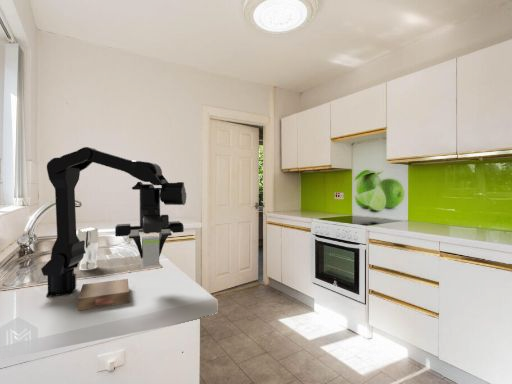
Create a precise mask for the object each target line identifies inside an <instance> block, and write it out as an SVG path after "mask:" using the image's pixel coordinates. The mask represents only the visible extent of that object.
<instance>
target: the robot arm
mask: <svg viewBox="0 0 512 384" xmlns="http://www.w3.org/2000/svg"><path fill="white" fill-rule="evenodd" d="M93 163H94V164H98V165H101V166H104V167H108V168H111V169H115V170H118V171H121V172H124V173H125V174H126V173H127V174H128V175H130V176H131V177H133V178H135V179H137V180H139V181H137V182H136V183H135V185H133V186H132V187H131V189H132V190H133V191H137V190H139V225H132V226H131V223H117V224H116V225H115V227H114V228H115V230H114V233H115V237H128V239H132V240H133V242H134V243H135V245H136V247H137V250H138V253H139V255H140V259H142V255H143V253H142V238H141V235H140V233H143V234H151V233H156V234H158V237H159V257H160V256H161V254H162V251H163V247H164V246H165V243H166V240H167V239H168V238H169V236H172V233H183V232H184V231H185V230H184V224H183V223H182V222H181V221H180V220H176V221H175V220H174V221H172V220H171V221H170V220H169V218H170V217H169V214H161V203H164V205H165V206H185V205H186V202H187V192H186V188H185V182H183V181H181V182H179V181H178V182H168V180H167V178H165V176H164V175H163V169H162V168H161V166H160V165H159V164H157V163H152V162H148V161H141V160H133V159H132V160H131V159H127V158H123V157H120V156H117V155H113V154H111V153H107V152H103V151H100V150H99V149H96V148H92V147H88V146H84V147H81V148H79V149H77V150H75V151H73V152H70V153H66V154H63V155H62V156H60V157H54V158H52V159H50V160H49V161H48V162H47V164H46V171H47V176H48V181H49V182H50V183H51V185H52V186H53V187H54V193H55V197H54V198H55V216H56V221H55V223H56V239H55V241H54V243H53V245H52V248H51V255H50V259H49V260H48V261H47V262H46V264H44V266H42V267H41V269H40V270H41V273H42V275H43V276H47V293H46V297H55V296H64V295H70V294H73V293H74V291H75V290H76V289H77V287H78V286H77V285H78V284H77V273H75V269H76V268H78V266H79V265H80V261H81V260H82V259H83V256H84V254H85V253H86V252H85V249H84V246H85V241H84V240H83V241H80V240H79V239H78V234H77V219H76V218H77V216H76V215H77V214H76V193H75V189H76V186H77V184H78V182H79V181H80V175H81V172H82V171H83V170H85V169H87V168H88V167H89V166H90V165H91V164H93ZM144 182H145V183H144ZM148 183H149V184H148ZM155 186H160V187H155Z"/></svg>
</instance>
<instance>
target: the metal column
mask: <svg viewBox="0 0 512 384" xmlns="http://www.w3.org/2000/svg"><path fill="white" fill-rule="evenodd" d="M141 246H142V253H143V255H142V258H141V265H142V268H144V267H151V266H153V267H154V266H159V265H160V256H159V235H146V236H141Z"/></svg>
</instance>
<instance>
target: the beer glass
mask: <svg viewBox="0 0 512 384" xmlns="http://www.w3.org/2000/svg"><path fill="white" fill-rule="evenodd" d="M77 237H78V239H79V240H80V241H83V240H84V241H85V246H84V249H85V252H86V253H85V254H84V256H83V259H82V260H81V261H80V262H79V268H78V269H79V271H92V270H96V269H97V268H98V262H97V254H98V248H99V229H98V228H97V227H87V228H80V229H77Z"/></svg>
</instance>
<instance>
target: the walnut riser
mask: <svg viewBox="0 0 512 384" xmlns="http://www.w3.org/2000/svg"><path fill="white" fill-rule="evenodd" d="M129 289H130V288H129V279H128V278H125V279H124V278H122V279H115V280H106V281H99V282H92V283H83V284H82V285H81V287H80V291H79V294H78V297H77V311H82V310H83V311H84V310H90V309H96V308H103V307H104V308H105V307H108V306H116V305H121V304H122V305H123V304H127V303H128V304H129V303H130V290H129Z"/></svg>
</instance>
